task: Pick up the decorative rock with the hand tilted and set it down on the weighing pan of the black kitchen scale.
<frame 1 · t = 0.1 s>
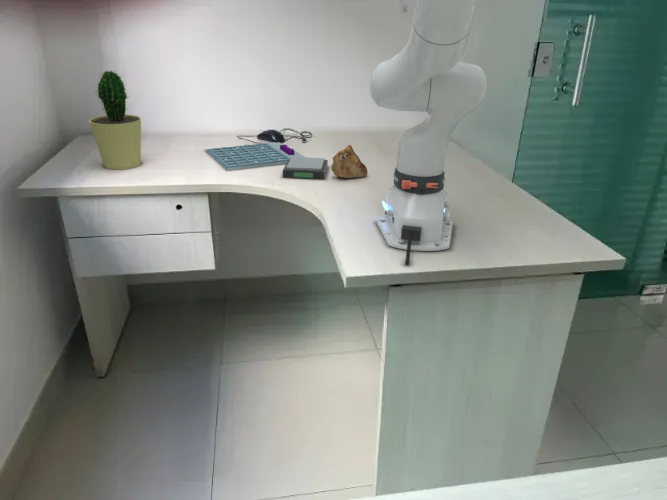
hand: (421, 13, 138), 48 cm above the table, tool pointing down, fingers open, 8 cm apart
decorative rock: (348, 178, 165), on the table
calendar: (255, 156, 186), on the table
scale: (305, 172, 170), on the table
potted cactus: (122, 165, 173), on the table
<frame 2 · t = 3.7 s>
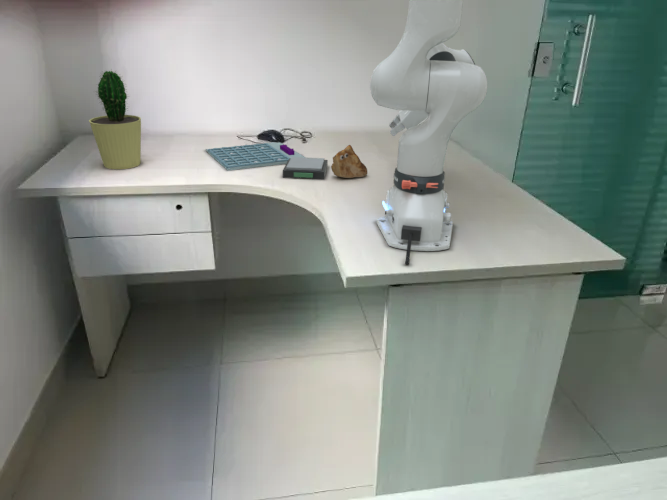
hand: (390, 130, 158), 15 cm above the table, tool tilted 45°, fingers open, 8 cm apart
nothing on the table moved.
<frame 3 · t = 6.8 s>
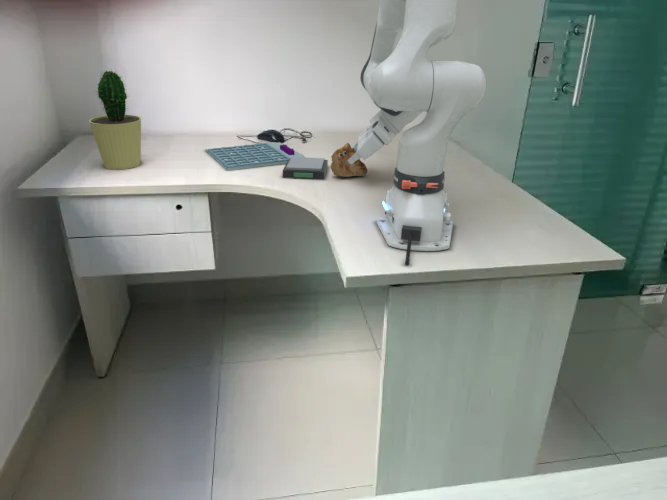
hand: (349, 157, 163), 6 cm above the table, tool tilted 45°, fingers open, 8 cm apart
decorative rock: (348, 177, 165), on the table, touching gripper
everything else where it was.
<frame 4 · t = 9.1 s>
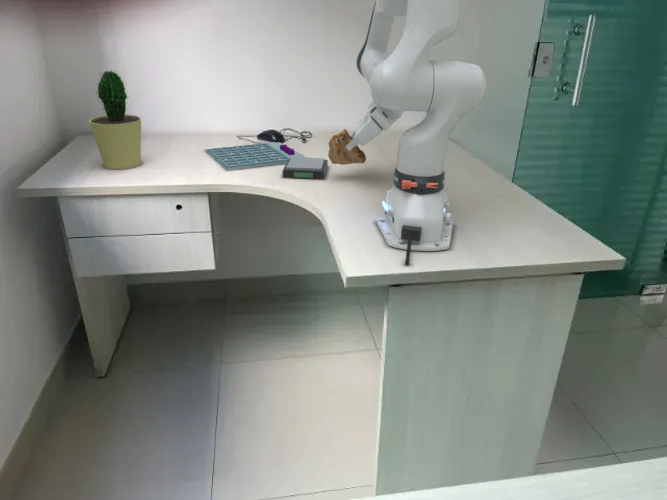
hand: (347, 145, 161), 10 cm above the table, tool tilted 45°, fingers closed on decorative rock, 7 cm apart
decorative rock: (347, 165, 161), point 5 cm above the table, touching gripper
everything else where it was.
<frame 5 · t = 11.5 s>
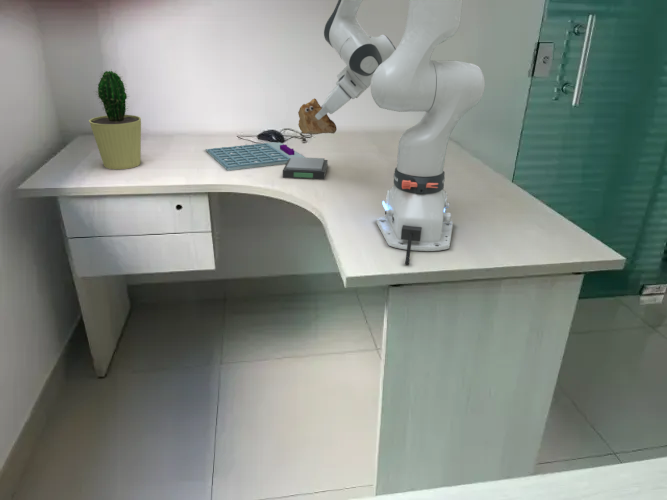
hand: (318, 115, 160), 19 cm above the table, tool tilted 45°, fingers closed on decorative rock, 7 cm apart
decorative rock: (317, 135, 161), point 13 cm above the table, touching gripper
everything else where it was.
when the fingers open (9 cm above the table, at t = 15.2 s): decorative rock stays where it is, resting on scale.
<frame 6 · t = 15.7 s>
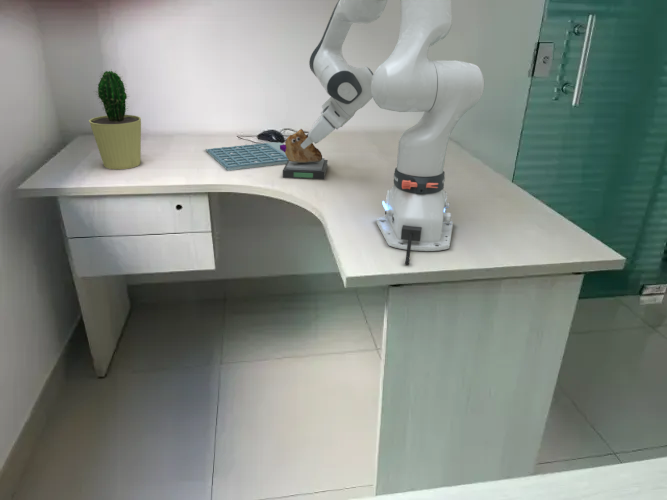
hand: (304, 143, 165), 9 cm above the table, tool tilted 45°, fingers open, 8 cm apart
decorative rock: (303, 163, 167), point 3 cm above the table, touching gripper, scale
everything else where it was.
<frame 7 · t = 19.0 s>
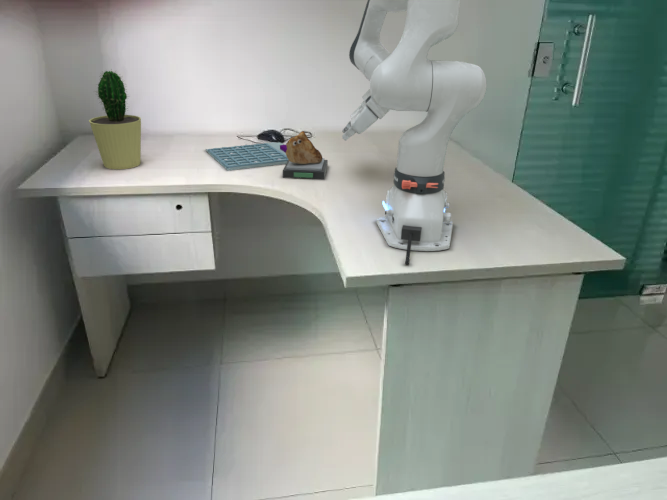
hand: (343, 135, 163), 12 cm above the table, tool tilted 45°, fingers open, 8 cm apart
decorative rock: (303, 164, 167), point 3 cm above the table, touching scale
everything else where it was.
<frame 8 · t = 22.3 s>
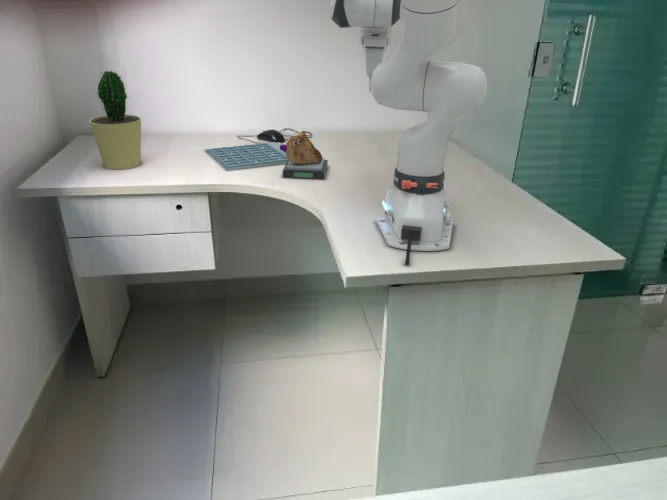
hand: (372, 88, 154), 27 cm above the table, tool pointing down, fingers open, 8 cm apart
nothing on the table moved.
at the end: decorative rock inside the target area on the scale (1.8 cm from its centre), point 3.0 cm above the scale's base; decorative rock tilted 0°; the gripper is holding nothing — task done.
